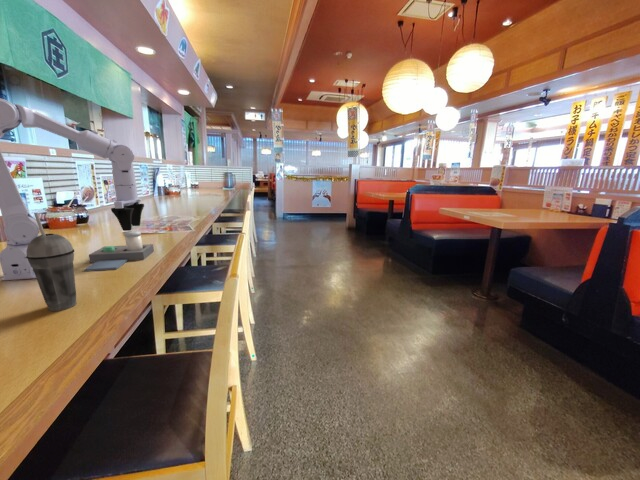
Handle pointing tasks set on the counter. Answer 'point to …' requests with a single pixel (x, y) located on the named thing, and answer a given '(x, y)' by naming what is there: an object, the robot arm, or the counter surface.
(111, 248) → the release button
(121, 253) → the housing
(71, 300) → the beverage cup
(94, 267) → the mat
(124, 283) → the counter surface
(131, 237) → the cylinder
